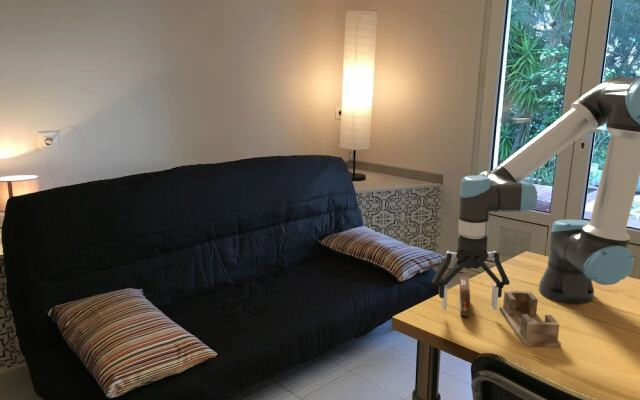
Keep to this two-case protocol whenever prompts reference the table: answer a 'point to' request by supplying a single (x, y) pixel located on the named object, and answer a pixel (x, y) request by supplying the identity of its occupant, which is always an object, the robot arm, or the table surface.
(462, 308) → the tin
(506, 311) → the rack
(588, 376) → the table surface
